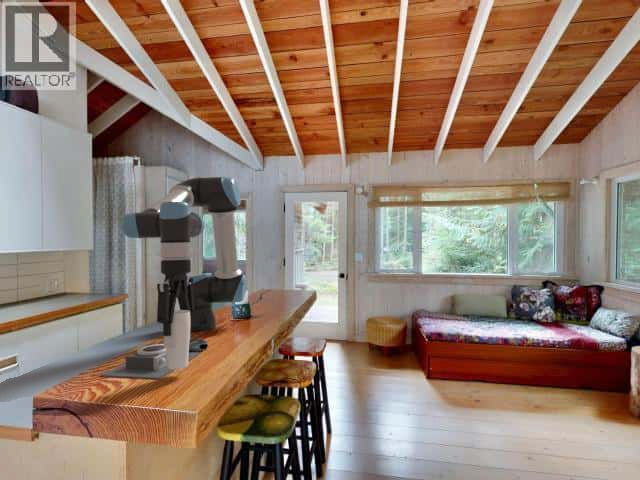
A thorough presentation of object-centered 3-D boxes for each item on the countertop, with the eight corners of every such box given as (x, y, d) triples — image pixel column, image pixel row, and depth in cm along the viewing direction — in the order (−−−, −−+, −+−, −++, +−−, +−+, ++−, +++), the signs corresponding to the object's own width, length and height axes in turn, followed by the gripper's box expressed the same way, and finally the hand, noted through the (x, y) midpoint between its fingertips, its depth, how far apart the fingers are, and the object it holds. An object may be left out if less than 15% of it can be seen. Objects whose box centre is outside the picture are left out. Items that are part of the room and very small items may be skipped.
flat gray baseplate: (151, 352, 119) (151, 337, 119) (200, 353, 116) (200, 339, 116) (100, 376, 97) (99, 359, 97) (159, 379, 94) (159, 361, 94)
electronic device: (158, 357, 119) (197, 353, 115) (158, 340, 120) (196, 335, 116) (177, 352, 128) (213, 348, 124) (176, 336, 129) (212, 332, 125)
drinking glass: (169, 363, 99) (168, 310, 99) (194, 362, 100) (193, 309, 100) (160, 372, 92) (159, 315, 92) (187, 371, 93) (186, 314, 93)
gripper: (183, 256, 106) (184, 333, 106) (139, 261, 87) (141, 354, 87) (206, 256, 105) (207, 334, 105) (166, 261, 85) (168, 356, 86)
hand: (177, 343), depth 96 cm, fingers closed on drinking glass, 7 cm apart
